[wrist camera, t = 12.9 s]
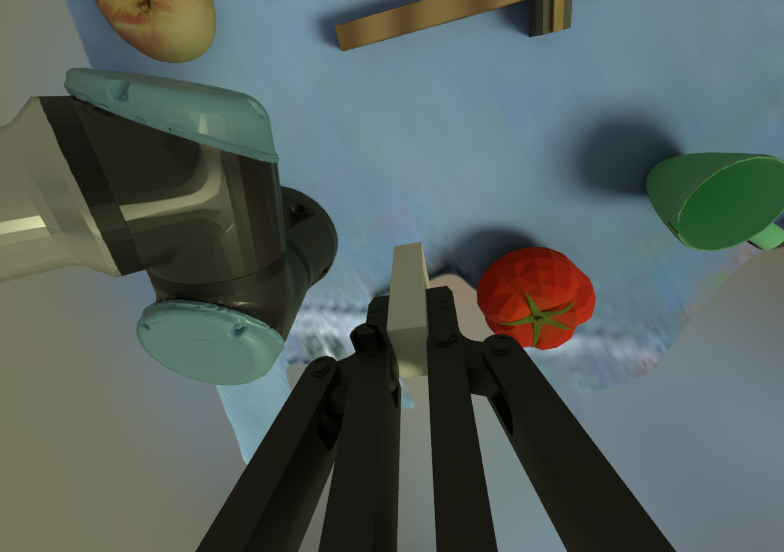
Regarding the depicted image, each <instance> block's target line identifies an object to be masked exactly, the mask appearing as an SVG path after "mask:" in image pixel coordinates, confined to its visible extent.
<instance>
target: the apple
mask: <svg viewBox="0 0 784 552" xmlns="http://www.w3.org/2000/svg"><path fill="white" fill-rule="evenodd" d="M95 1H96V3H97V5H98V7H99V9H100V11H101V12H102V14H103V15H104V17H105V18H106V20H107V21H108V22H109V24H110V25H111V26H112V27H113V29H114V30H115V31H116V32H117V33H118V34H119V35H120V36H121V37H122V38H123V39H124V40H125V41H127V42H128V43H129V44H130V45H132V46H133V47H134V48H136V49H137V50H139V51H140V52H142V53H143V54H145V55H147V56H149V57H151V58H153V59H156V60H159V61H163V62H170V63H181V62H187V61H191V60H194V59H196V58H198V57H199V56H201V55H202V54H203V53H204V52H206V51H207V49H208V48H209V47H210V45H211V43H212V41H213V38H214V35H215V30H216V15H215V9H214V4H213V1H212V0H95Z"/></svg>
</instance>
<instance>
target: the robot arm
mask: <svg viewBox="0 0 784 552" xmlns="http://www.w3.org/2000/svg"><path fill="white" fill-rule="evenodd" d="M64 86H65V88H66V90H67V91H68V93H69V94H72V95H71V96H45V97H43V96H42V97H30V99H29V100H28V101H27V103H26V104H25V105H24V107H23V108H22V109H21V111H20V112H19V113H18V115H17V116H16V117H15V119H14V120H13V121H12V122H11V123H9V124H7V125H5V126H3V127H0V283H2V282H6V281H10V280H15V279H19V278H23V277H27V276H31V275H35V274H40V273H44V272H48V271H51V270H56V269H60V268H64V267H68V266H73V265H75V266H82V267H87V268H90V269H93V270H96V271H99V272H102V273H105V274H107V275H110V276H113V277H120V276H124V275H128V274H131V273H135V272H138V271H142V270H146V271H147V273H148V275H149V278H150V280H151V283H152V285H153V288H154V290H155V292H156V302H155V303H153V304H151V305H150V306H148V307H147V308H145V310H144V311H143V314H142V317H141V319H140V320H139V322H138V324H137V336H138V339H139V341H140V343H141V345H142V347H143V348H144V349H145V350H146V352H147V353H148V354H149V355H150V356H151V357H152V358H154V359H155V360H156V361H158V362H159V363H161V364H162V365H163V366H165V367H167V368H168V369H170V370H172V371H174V372H176V373H179V374H181V375H183V376H185V377H188V378H191V379H194V380H197V381H201V382H206V383H210V384H217V385H240V384H246V383H250V382H252V381H254V380H256V379H258V378H260V377H262V376H264V375H265V374H267V373H268V371H269V370H270V369H271V368H272V366H273V365H274V363H275V361H276V359H277V358H278V356H279V354H280V353H281V352H282V351H283V349H284V343H285V341H286V339H287V336H288V334H289V332H290V329H291V327H292V325H293V322H294V320H295V318H296V315H297V313H298V311H299V309H300V306H301V304H302V302H303V299H304V297H305V295H306V292H307V290H308V289H309V288H310V287H312V286H313V285H314V284H316V283H317V282H318V281H319V280H321V279H322V278H323V277H324V276H325V275H326V274H327V272H328V271H329V270H330V268H331V266H332V264H333V261H334V259H335V256H336V253H337V247H338V239H337V233H336V230H335V227H334V224H333V222H332V220H331V219H330V217H329V216H328V214H327V213H326V212H325V210H324V209H323V208H322V207H321V206H320V205H319V204H318V203H317V202H315V201H314V200H313V199H311V198H310V197H308V196H307V195H305V194H303V193H301V192H298V191H296V190H293V189H289V188H285V187H280V181H279V172H278V163H277V162H279V157H278V155H277V154H276V152H275V148H274V142H273V136H272V130H271V125H270V119H269V116H268V114H267V112H266V110H265V108H264V107H263V106H262V105H261V104H260V103H259V102H258V101H257V100H256V99H254V98H253V97H251V96H249V95H247V94H244V93H241V92H237V91H233V90H228V89H224V88H219V87H214V86H209V85H203V84H198V83H192V82H186V81H180V80H174V79H168V78H162V77H155V76H148V75H141V74H134V73H126V72H117V71H104V70H93V69H88V68H72V69H70V70H68V71H67V73H66V82H65V83H64ZM366 319H367V320H366V323H364V324H361V325H359V326H357V327H356V328H355V329H354V330H353V331H352V332H351V334H350V339H351V341H352V344H353V346H354V349H355V353H354V354H353V355H351V356H349V357H347V358H344V359H342V360H339V361H336V360H335V359H334V358H333V357H330V356H322V357H319V358H317V359H315V360H314V361H312V362H311V363H310V364H309V365H308V366H307V367H306V369H305V371H304V373H303V374H302V376H301V377H300V379H299V381H298V383H297V384H296V386H295V387H294V389H293V391H292V392H291V394H290V396H289V397H288V399H287V401H286V402H285V404H284V406H283V407H282V409H281V411H280V412H279V414H278V415H277V417H276V419H275V420H274V422H273V424H272V425H271V427H270V429H269V430H268V432H267V434H266V435H265V437H264V439H263V440H262V442H261V444H260V445H259V447H258V449H257V450H256V452H255V454H254V455H253V457H252V459H251V460H250V462H249V464H248V465H247V467H246V469H245V470H244V472H243V474H242V475H241V477H240V479H239V480H238V482H237V484H236V485H235V487H234V489H233V490H232V492H231V494H230V495H229V497H228V498H227V500H226V502H225V503H224V505H223V507H222V508H221V510H220V512H219V514H218V515H217V517H216V518H215V520H214V522H213V524H212V525H211V527H210V528H209V530H208V532H207V534H206V535H205V537H204V538H203V540H202V542H201V543H200V545H199V547H198V548H197V550H196V552H298V550H299V548H300V546H301V543H302V541H303V538H304V535H305V533H306V531H307V528H308V526H309V523H310V521H311V518H312V516H313V513H314V511H315V508H316V506H317V504H318V501H319V498H320V496H321V494H322V491H323V489H324V486H325V484H326V481H327V479H328V476H329V474H330V471H331V469H332V467H333V464H334V462H335V464H334V470H333V475H332V481H331V486H330V491H329V497H328V503H327V507H326V513H325V518H324V523H323V529H322V535H321V540H320V545H319V551H318V552H397V528H398V490H399V452H400V449H399V447H400V414H401V386H400V383H399V372H400V376H401V378H407V377H416V376H425V375H428V384H429V385H428V386H429V405H430V426H431V446H432V466H433V467H432V468H433V488H434V507H435V528H436V547H437V552H498V550H497V544H496V538H495V532H494V527H493V522H492V515H491V510H490V504H489V498H488V492H487V486H486V481H485V475H484V470H483V464H482V457H481V452H480V446H479V440H478V434H477V428H476V423H475V417H474V411H473V405H472V400H471V394H476V395H481V396H486V397H487V399H488V401H489V402H490V404H491V406H492V408H493V410H494V412H495V414H496V416H497V418H498V420H499V422H500V424H501V426H502V427H503V429H504V431H505V433H506V435H507V437H508V439H509V441H510V442H511V445H512V447H513V448H514V450H515V452H516V454H517V456H518V458H519V460H520V462H521V464H522V466H523V468H524V470H525V471H526V473H527V475H528V477H529V479H530V481H531V483H532V485H533V487H534V489H535V491H536V493H537V494H538V496H539V498H540V500H541V502H542V504H543V506H544V508H545V510H546V511H547V514H548V516H549V517H550V519H551V521H552V523H553V525H554V527H555V529H556V531H557V533H558V535H559V537H560V538H561V540H562V542H563V544H564V546H565V548H566V550H567V552H676V551H675V550H674V548H673V547H672V546H671V544H670V543H669V542H668V540H667V539H666V538H665V536H664V535H663V534H662V532H661V531H660V530H659V528H658V527H657V526H656V524H655V523H654V522H653V520H652V519H651V518H650V516H649V515H648V514H647V513H646V511H645V510H644V509H643V507H642V506H641V504H640V503H639V502H638V500H637V499H636V498H635V496H634V495H633V494H632V492H631V491H630V490H629V488H628V487H627V486H626V484H625V483H624V482H623V480H622V479H621V478H620V476H619V475H618V474H617V473H616V471H615V470H614V469H613V467H612V466H611V465H610V463H609V462H608V461H607V459H606V458H605V457H604V455H603V454H602V453H601V451H600V450H599V449H598V447H597V446H596V445H595V444H594V442H593V441H592V439H591V438H590V437H589V435H588V434H587V433H586V432H585V430H584V429H583V427H582V426H581V425H580V423H579V422H578V421H577V419H576V418H575V417H574V415H573V414H572V413H571V411H570V410H569V409H568V407H567V406H566V405H565V403H564V402H563V401H562V399H561V398H560V397H559V395H558V394H557V393H556V391H555V390H554V389H553V387H552V386H551V385H550V384H549V382H548V381H547V380H546V378H545V377H544V376H543V374H542V373H541V372H540V370H539V369H538V368H537V366H536V365H535V364H534V362H533V361H532V360H531V358H530V357H529V356H528V354H527V353H526V352H525V350H524V349H523V348H522V346H521V345H520V344H519V342H518V341H517V340H515V339H514V338H513V337H511V336H508V335H504V334H496V335H492V336H489V337H488V338H486V339H485V340H484V341H483V342H479V341H473V340H470V339H468V338H466V337H464V336H463V335H462V334H461V332H460V330H459V327H458V321H457V315H456V309H455V304H454V298H453V293H452V291H451V290H450V289H449V288H448V287H447V286H443V287H436V288H430V286H429V279H428V274H427V268H426V263H425V258H424V253H423V248H422V243H421V242H419V243H413V244H407V245H401V246H396V247H394V253H393V265H392V276H391V287H390V295H387V296H380V297H374V298H373V300H372V301H371V302H370V304H369V306H368V314H367V318H366ZM470 393H471V394H470Z"/></svg>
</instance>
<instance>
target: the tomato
mask: <svg viewBox="0 0 784 552" xmlns="http://www.w3.org/2000/svg"><path fill="white" fill-rule="evenodd" d="M595 301H596V296H595V293H594V289H593V286H592V284H591V281H590V279H589V278H588V277H587V276H586V275H585V274H584V273H583V272H582V271H581V270H579V269H578V268H577V267H576V266H575V265H574V264H573V263H572V262H571V261H570V260H569V259H568V258H567V257H566V256H565V255H563V254H562V253H560V252H557V251H554V250H552V249H549V248H546V247H526V248H522V249H519V250H516V251H513V252H509V253H507V254H506V255H504V256H502V257H501V258H499V259H497V260H496V261H494V262H493V263H492V264H491V265H490V267H489V268H488V269H487V270H486V271H485V272H484V274H483V275H482V276H481V279H480V281H479V284H478V287H477V304H478V306H479V307H480V309H481V311H482V312H483V314H484V315H485V320H486V322H487V324H488V326H489V327H490V329H491V330H492V331H493V332H494V333H495V334H504V335H508V336H511V337H513V338H514V339H515V340H517V341H518V342H519V344H520V345H521V346H522V348H524V347H530V346H531V348H532V347H535V348H538V349H540V350H546V349H552V348H557V347H559V346H560V345H562V344H563V343H565V342H566V341H568V340H570V339H571V337H572V335H573V333H574V331H575V329H576V327H577V325H579V324H581V323H584V322H586V321H587V320H589V319H590V318H591V317H592V314H593V310H594V306H595Z"/></svg>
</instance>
